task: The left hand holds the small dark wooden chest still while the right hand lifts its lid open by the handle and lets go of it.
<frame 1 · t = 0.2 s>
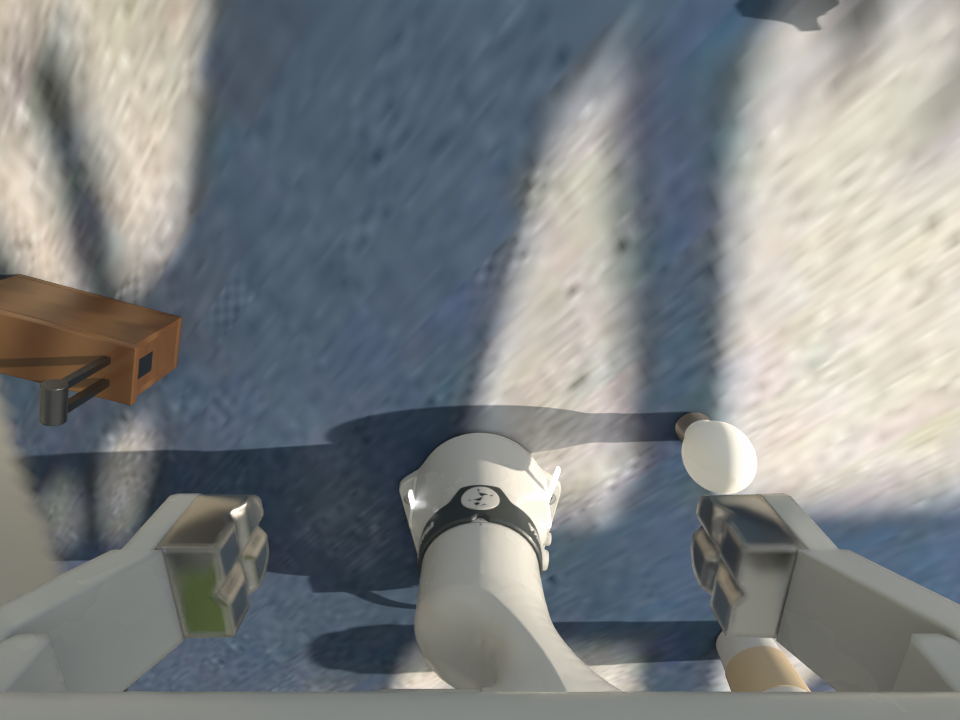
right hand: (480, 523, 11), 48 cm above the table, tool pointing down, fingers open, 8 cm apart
coffee cup: (741, 640, 75), on the table
light bulb: (693, 425, 63), on the table
lid: (7, 367, 47), point 13 cm above the table, hinge at 0.0°
chest: (101, 322, 59), on the table
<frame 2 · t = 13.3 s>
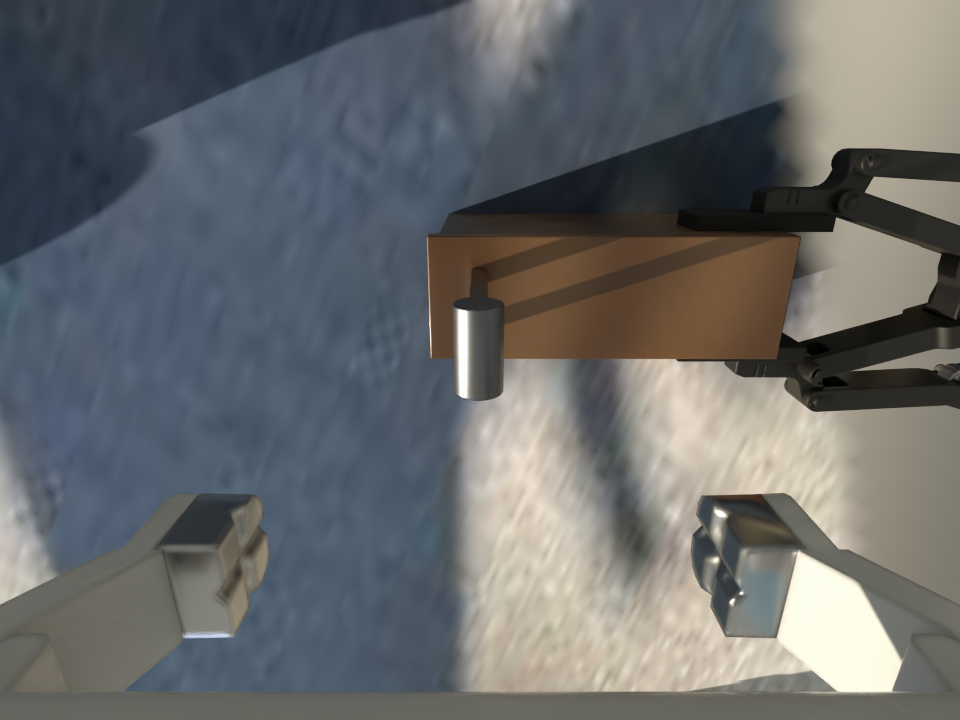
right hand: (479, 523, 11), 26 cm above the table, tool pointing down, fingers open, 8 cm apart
left hand: (679, 285, 29), fingers closed on chest, 6 cm apart
lid: (626, 321, 23), point 13 cm above the table, hinge at 0.0°
chest: (580, 261, 35), on the table, touching left hand
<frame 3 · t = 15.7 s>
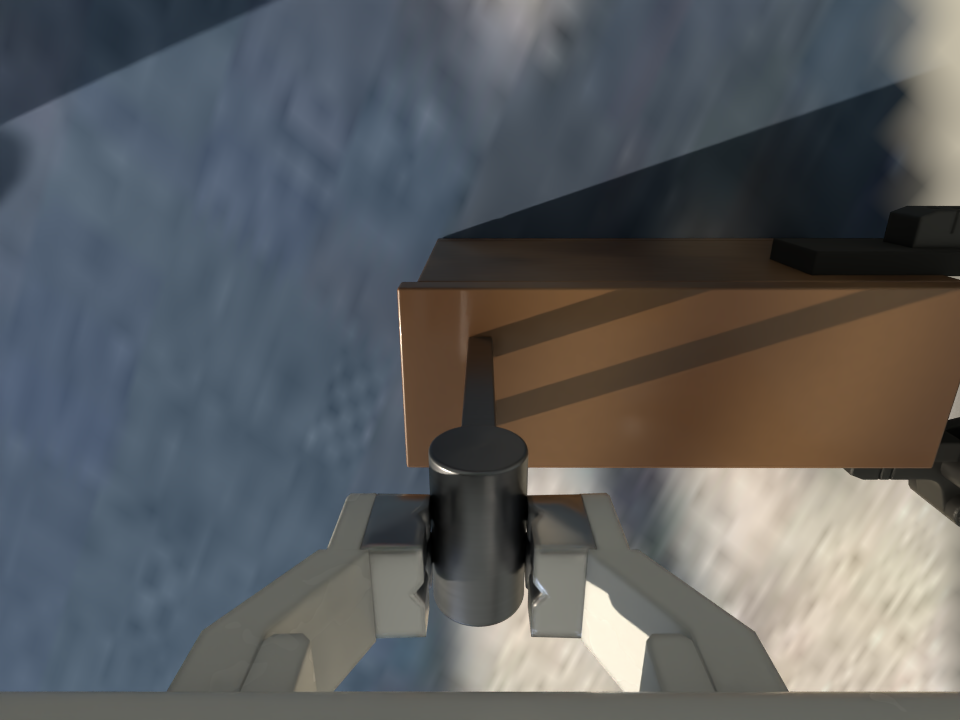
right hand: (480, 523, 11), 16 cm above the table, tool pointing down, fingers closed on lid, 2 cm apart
lid: (726, 438, 14), point 13 cm above the table, hinge at -0.1°, touching right hand
chest: (617, 303, 26), on the table, touching left hand
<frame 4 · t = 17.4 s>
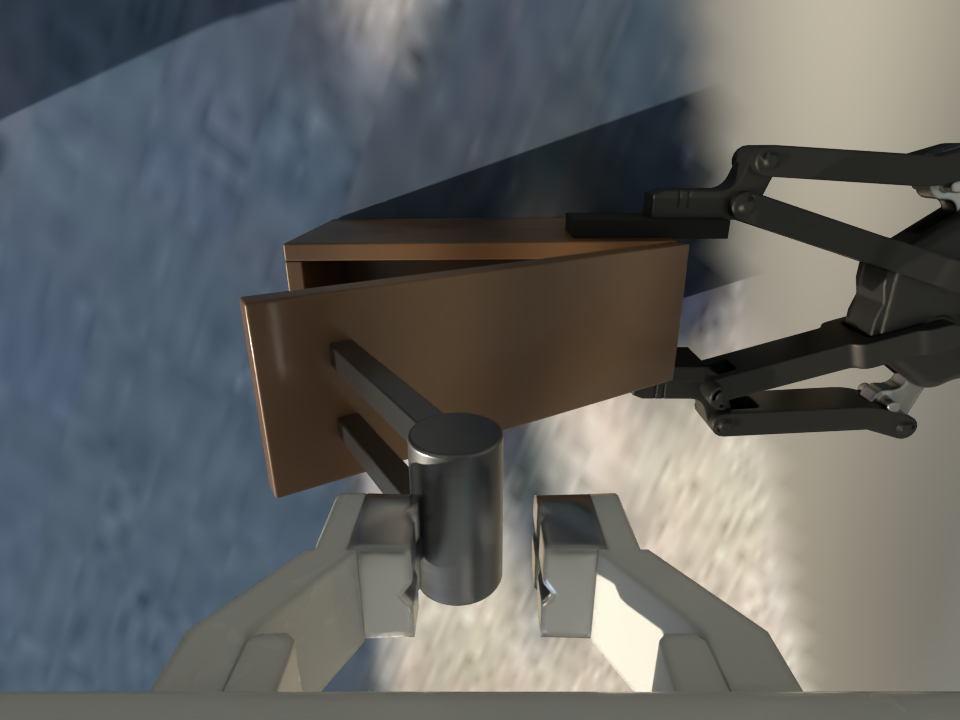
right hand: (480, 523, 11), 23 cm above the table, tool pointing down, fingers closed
left hand: (566, 297, 26), fingers closed on chest, 6 cm apart
lid: (580, 385, 17), point 17 cm above the table, hinge at 31.3°, touching right hand
chest: (480, 270, 32), on the table, touching left hand
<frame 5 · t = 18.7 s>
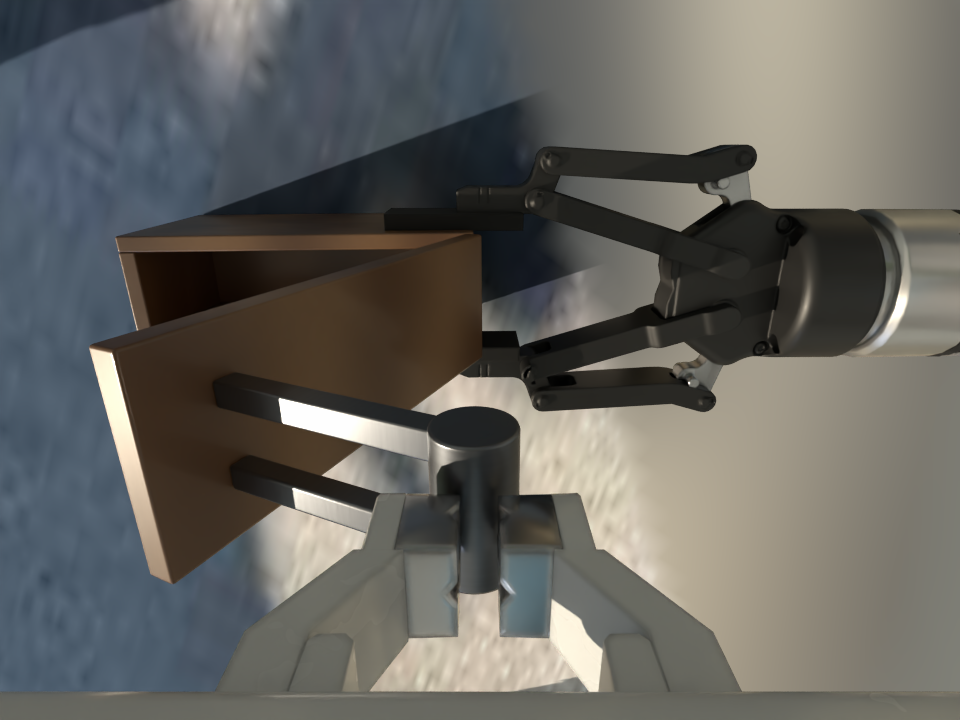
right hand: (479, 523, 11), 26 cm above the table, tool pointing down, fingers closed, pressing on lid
left hand: (392, 285, 29), fingers closed on chest, 6 cm apart
lid: (464, 370, 18), point 18 cm above the table, hinge at 63.0°, touching right hand
chest: (340, 262, 35), on the table, touching left hand
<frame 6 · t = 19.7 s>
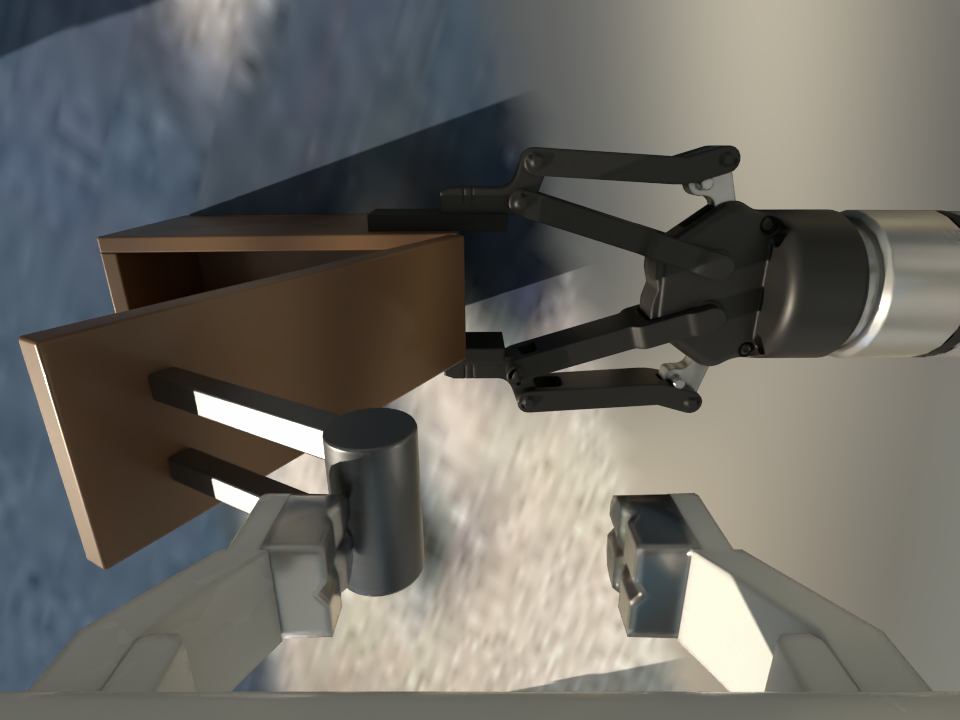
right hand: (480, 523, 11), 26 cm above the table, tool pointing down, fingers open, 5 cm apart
left hand: (377, 286, 29), fingers closed on chest, 6 cm apart
lid: (418, 371, 18), point 18 cm above the table, hinge at 58.6°, touching right hand
chest: (327, 263, 34), on the table, touching left hand
when the left hand's fingers open (6 cm above the table, at t = 23.0 s): chest stays where it is, on the table.
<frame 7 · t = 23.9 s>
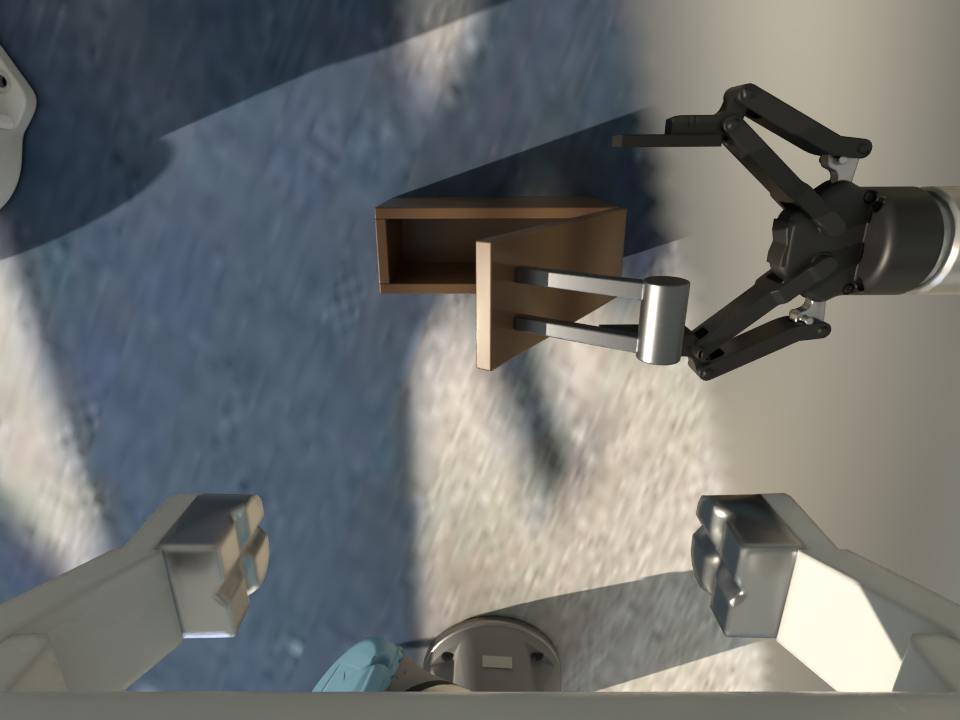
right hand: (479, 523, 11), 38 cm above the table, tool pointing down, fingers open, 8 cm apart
left hand: (608, 243, 40), fingers open, 13 cm apart
lid: (631, 282, 29), point 18 cm above the table, hinge at 57.0°
chest: (493, 233, 46), on the table
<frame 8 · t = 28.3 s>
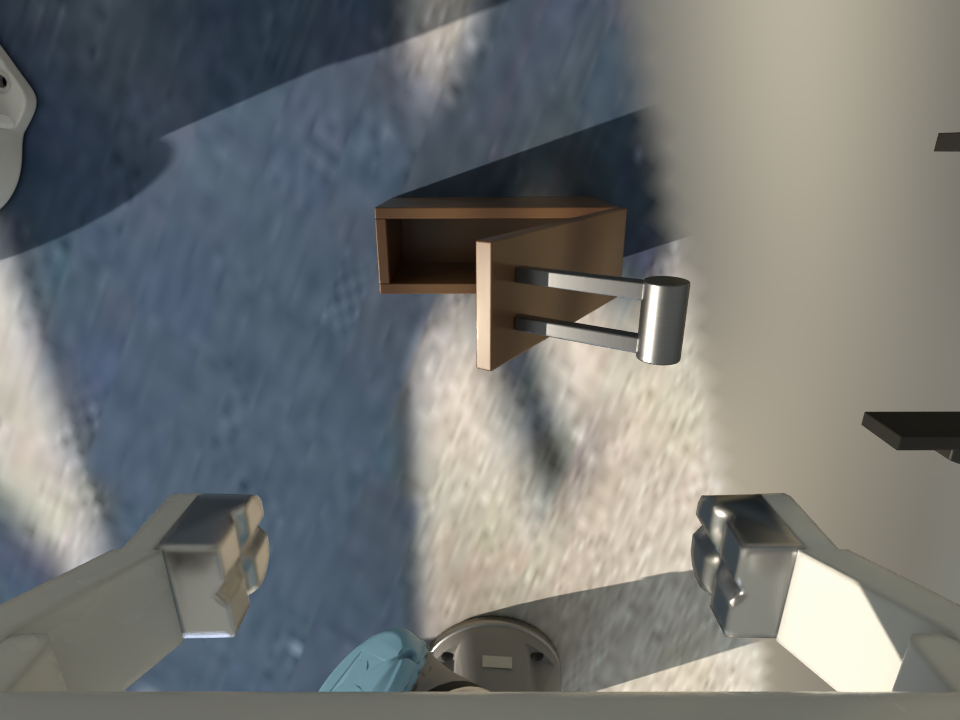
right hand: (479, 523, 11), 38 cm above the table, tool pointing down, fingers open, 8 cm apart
lid: (631, 282, 29), point 18 cm above the table, hinge at 57.0°
chest: (493, 233, 46), on the table
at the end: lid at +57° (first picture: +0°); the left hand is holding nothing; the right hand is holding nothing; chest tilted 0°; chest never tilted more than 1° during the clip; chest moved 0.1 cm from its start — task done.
